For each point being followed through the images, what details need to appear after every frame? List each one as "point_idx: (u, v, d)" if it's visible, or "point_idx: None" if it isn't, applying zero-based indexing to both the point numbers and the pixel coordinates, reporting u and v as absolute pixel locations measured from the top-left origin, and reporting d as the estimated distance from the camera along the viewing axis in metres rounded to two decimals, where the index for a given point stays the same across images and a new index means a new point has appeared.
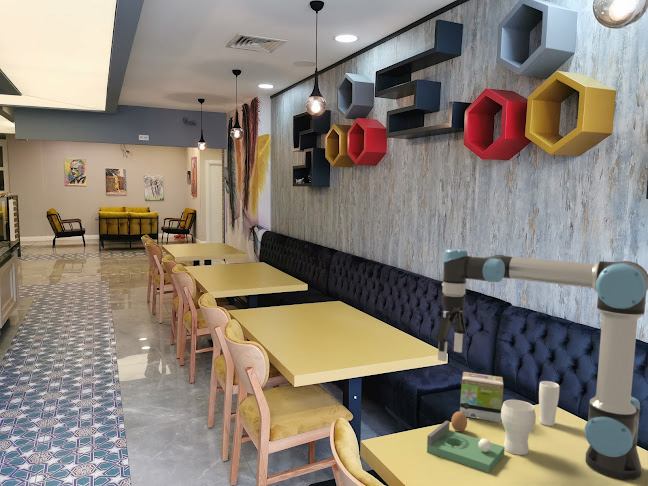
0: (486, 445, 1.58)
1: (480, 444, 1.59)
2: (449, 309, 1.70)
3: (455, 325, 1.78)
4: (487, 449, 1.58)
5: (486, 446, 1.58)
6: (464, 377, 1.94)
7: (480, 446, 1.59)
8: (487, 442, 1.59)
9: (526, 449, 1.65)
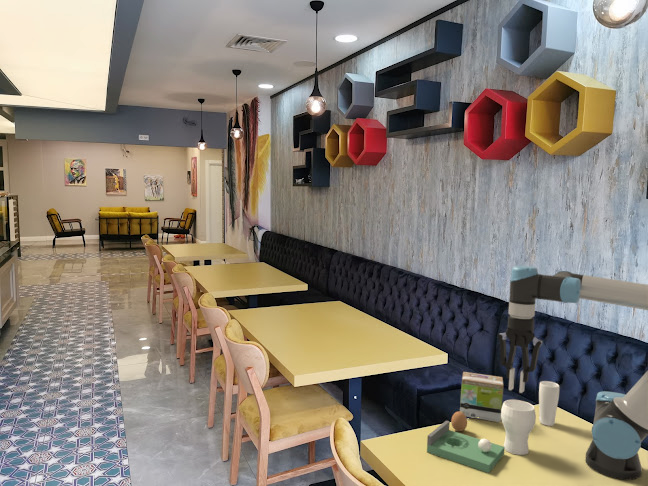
0: (486, 445, 1.58)
1: (480, 444, 1.59)
2: None
3: None
4: (487, 449, 1.58)
5: (486, 446, 1.58)
6: (464, 377, 1.94)
7: (480, 446, 1.59)
8: (487, 442, 1.59)
9: (526, 449, 1.65)
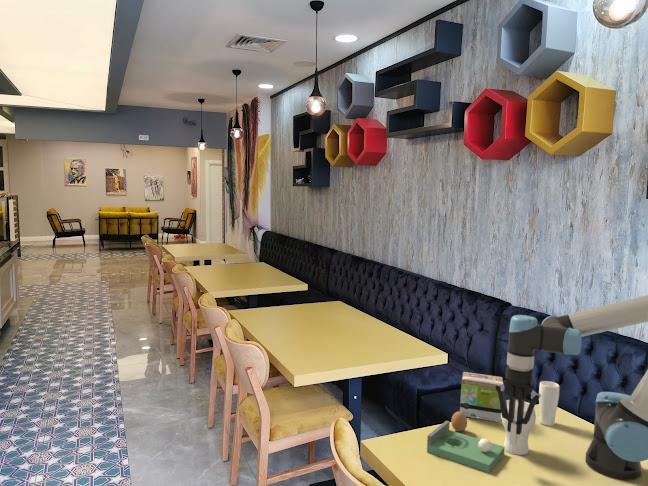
0: (486, 445, 1.58)
1: (480, 444, 1.59)
2: None
3: None
4: (487, 449, 1.58)
5: (486, 446, 1.58)
6: (464, 377, 1.94)
7: (480, 446, 1.59)
8: (487, 442, 1.59)
9: (526, 449, 1.65)
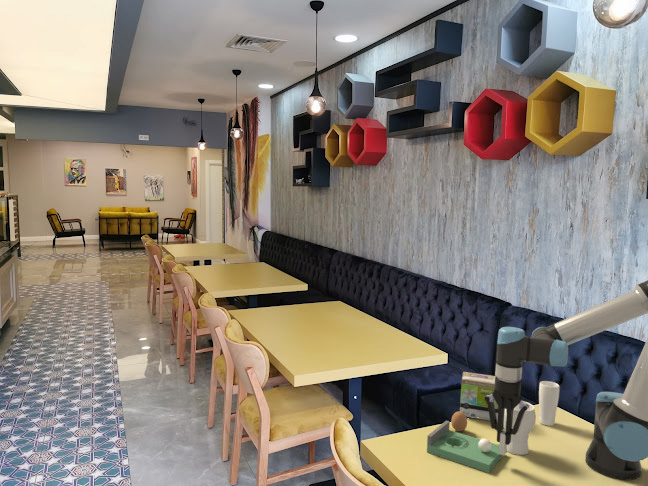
0: (486, 445, 1.58)
1: (480, 444, 1.59)
2: None
3: None
4: (487, 449, 1.58)
5: (486, 446, 1.58)
6: (464, 377, 1.94)
7: (480, 446, 1.59)
8: (487, 442, 1.59)
9: (526, 449, 1.65)
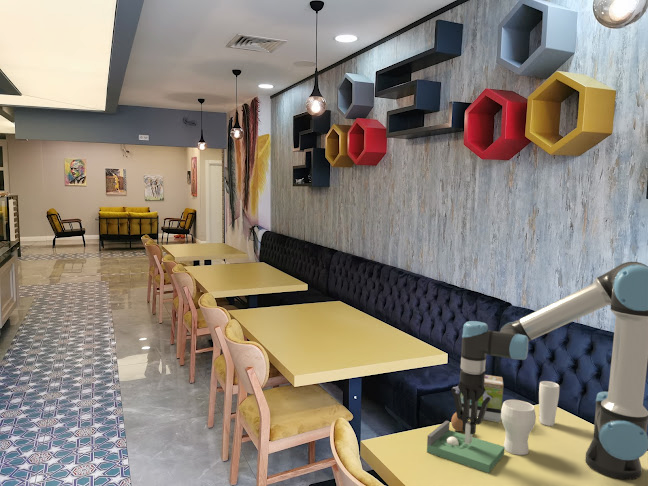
0: (454, 445, 1.65)
1: (449, 441, 1.65)
2: None
3: None
4: None
5: (454, 445, 1.65)
6: None
7: (448, 442, 1.66)
8: (456, 443, 1.65)
9: (526, 449, 1.65)
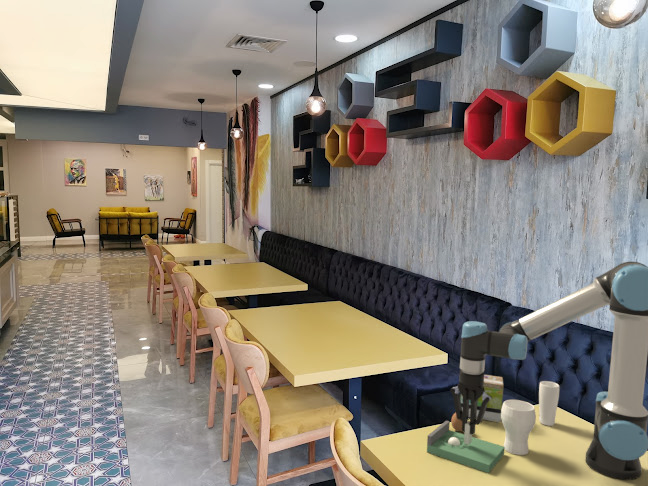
0: None
1: (452, 442, 1.65)
2: None
3: None
4: None
5: None
6: None
7: (450, 443, 1.65)
8: (458, 445, 1.65)
9: (526, 449, 1.65)
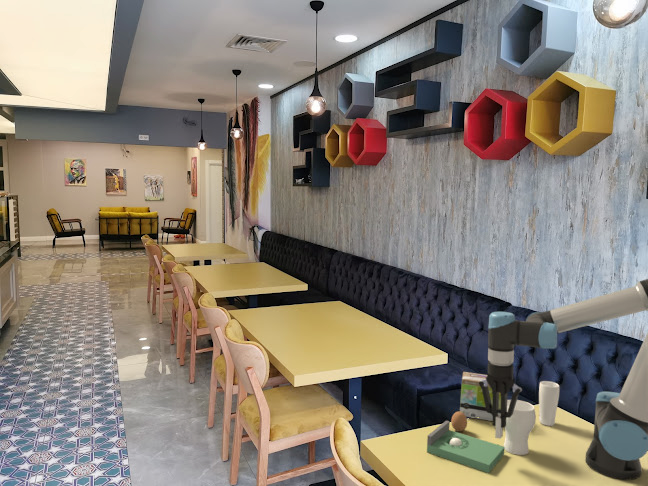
0: None
1: (454, 443, 1.64)
2: None
3: None
4: None
5: None
6: (464, 377, 1.94)
7: (453, 443, 1.65)
8: None
9: (526, 449, 1.65)
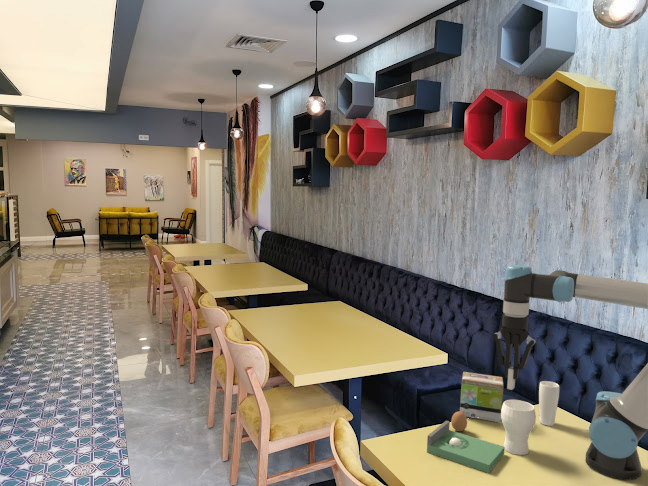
0: None
1: (454, 442, 1.64)
2: None
3: None
4: None
5: None
6: (464, 377, 1.94)
7: (452, 443, 1.65)
8: None
9: (526, 449, 1.65)
